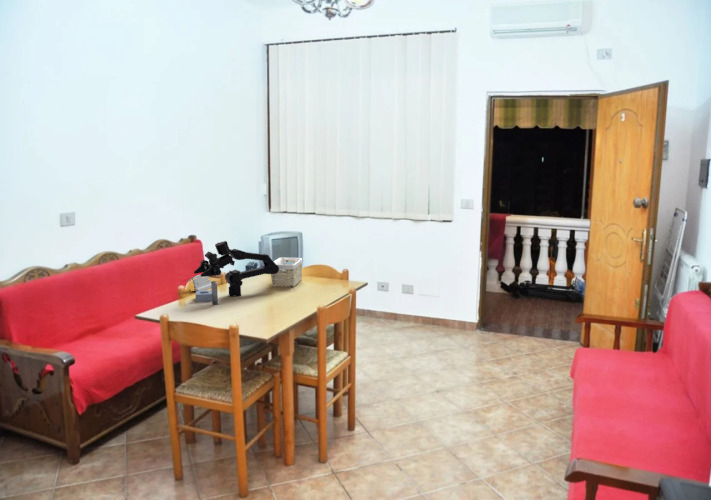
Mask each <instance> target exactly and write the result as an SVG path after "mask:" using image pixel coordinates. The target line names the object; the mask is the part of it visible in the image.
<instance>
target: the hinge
mask: <svg viewBox="0 0 711 500" xmlns="http://www.w3.org/2000/svg"><path fill="white" fill-rule="evenodd" d="M195 278H197V279H195ZM210 278H211V277H210V276H204V278H202V277H201V274H197V275H195V276H193V277H192V278H191V279H189V280H188V283H189V282H190V281H191V280H193V279H194V280H193V284H194V288H195V289H194V290H195V291H194V292H196V291H208V290H210V289H212V288H211V282H212V281H211V279H210ZM208 279H210V280H208ZM207 280H208V281H207Z"/></svg>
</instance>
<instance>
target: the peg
mask: <svg viewBox="0 0 711 500" xmlns="http://www.w3.org/2000/svg"><path fill="white" fill-rule="evenodd" d="M210 289H211V290H212V301H211V305H212V306H217V305H219V302H218V301H219V300H218V299H219V298H218V281H215V280H212V281H211V288H210Z"/></svg>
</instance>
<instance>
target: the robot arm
mask: <svg viewBox="0 0 711 500" xmlns="http://www.w3.org/2000/svg"><path fill="white" fill-rule="evenodd" d="M214 246H215V249H216V251H217V252H216V253H217V254H216V253H213V252H212V251H207V252H206V253H205V254H204V256H205V258H207V259H208V260H205V259H201V260H200V265H199V266H198V268H196V269H195V270H193V271H194V272H193V274H200V275H201V277H204V276H209V277H216V276H217V277H218V276H220V275H221V274H222V270H221V269H224V268H225V267H226V266H228V265H231V266H235V260H236V261H243V260H253V261H254V260H255V261H262V263H263V266H261V267H257V268H252V269H248V270H243V271H240V270H238V269H233V270H228V272H226V273H225V275H224V279H225V281H226V282H227V284H228V285H229V287H228V295H229V297H240V296H241V297H242V289H241V288H242V286H243V283H244V282H243V281H242V280H245V279H250V278H254V277H257V276H261V275H271V274H276V273H278V271H279V267H278V265H276V264H275V263H274V260H273V259H272V258H271V257H270V255H269V254H266V253H254V252H247V251H243V250H240V249H237V248H233V249H230V247H229V243H228V242H227V240H224V241H220V242H217V243H215V244H214ZM218 255H220V256H219V257H218ZM233 259H234V260H233Z"/></svg>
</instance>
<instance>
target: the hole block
mask: <svg viewBox="0 0 711 500" xmlns="http://www.w3.org/2000/svg"><path fill="white" fill-rule="evenodd" d="M195 302H197V303H198V302H199V303H201V302H212V289H211V290H210V289H207V290H205V291H198V290H197V291H195Z"/></svg>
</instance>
